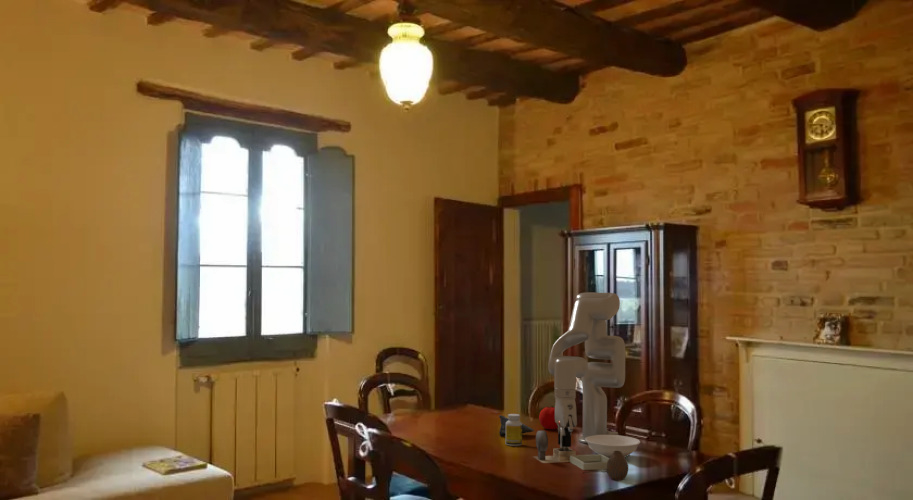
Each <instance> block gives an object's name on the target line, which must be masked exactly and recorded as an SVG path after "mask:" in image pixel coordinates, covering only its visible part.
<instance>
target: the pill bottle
mask: <svg viewBox="0 0 913 500" xmlns="http://www.w3.org/2000/svg"><path fill="white" fill-rule="evenodd" d="M507 418H508V419H509V420H508V421H507V422H506V435H505V440H504V441H505V443H504V444H505V445H506V446H509V447H519V446H522V444H523V434H522V424H523V422H522V421H521V420H520V418H521V415H520V414H518V413H508V414H507Z"/></svg>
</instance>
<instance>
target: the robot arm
mask: <svg viewBox="0 0 913 500" xmlns="http://www.w3.org/2000/svg"><path fill="white" fill-rule="evenodd" d="M620 304H621V300H620V298H619V296H618V294H617V293H615V292H594V291H593V292H581V293H578V294H577V295H576V297H575V302H574V304H573V308H572V312H571V317H570V321H569V325H568V328H567V329H568V330H567V331H566V332H565V333H562V335H561V336H560V337H558V339H557V340H555V342H554V344H553V345H552V347H551V351H550V354H549V358H548V365H547V366H548V367H547V369H548V372H549V373H550V374H551V375H552V376H554V380H553V381H554V386H553V387H554V389H553V390H554V399H555V402H554V406H555V422H556V423H557V425H558V421H560V425H561V426H563V435H562V447H569V448H571V447H572V432H573V431H574V427H575V428H576V427H577V425H578V420H577V405H576V399H577V398H576V396H577V395H576V393H577V392H576V390H577V389H576V386H577V385H576V384H577V381H576V380H577V379H579V378H580V379H581V384H582V385H581V386H582V436H579V437H578V442H580V443H583V444H586V445H587V444H588V443H587V441H586V440H585V438H586V437H588V436H593V435H619V432H618V431H613V432H612V431H609V430H608V426H607V422H608V421H607V420H608V413H607V412H608V398H607V394H606V393H605V391H604V390H603V388H614V389H615V388H618V389H619V388H622V387H623V386H624V384H625V381H626V344H625V341H624V338H623V337H621V336H618V335H607V321H608V320H611V319H612V318H613V317H615V316H616V314H617V313H618V312H619V310H620V306H621V305H620ZM581 343H584V352H585V355H586V357H588V358H590V359H594V360H595V359H597V360H607V361H609V360H611V363H610V362H600V361H598V362H597V361H589V362H588V361H587V360H586V359H585V358H584V357H582V356H581V357H580V356H572V355H562V354H563V352H564V351H566V350H567V349H569V348H571V347H574V346H576V345H579V344H581ZM560 425H558V426H557V427H558V429H557V435H558V436H557V444H558V445H559V446H560ZM567 425H568V426H567ZM566 428H568V429H566Z"/></svg>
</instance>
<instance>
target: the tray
mask: <svg viewBox="0 0 913 500" xmlns="http://www.w3.org/2000/svg"><path fill="white" fill-rule="evenodd" d="M609 458H610V457H606V456H604V455H602V454H579V455H578V454H576V455H573V456H570V462H569V463H571V464H572V465H575V466H576V467H578V468H579V469H581V470H582V471H584V472H582V473H583V474H586V473H587V474H591V473H590V472H591V470H592V471H593V470H595V471H596V470H603V471H602V473H607V462H608V460H609ZM604 470H605V471H604ZM585 471H586V472H585ZM587 471H588V472H587Z"/></svg>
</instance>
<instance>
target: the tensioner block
mask: <svg viewBox="0 0 913 500" xmlns="http://www.w3.org/2000/svg"><path fill="white" fill-rule="evenodd" d="M535 444H536V448H537V455H535V456H532V457H533V458H534V459H536V460H537V461H539V462H540V463H542V464H552V463H571V462H570V456H573V455H577V454H576V450H573V449H572V448H571V447H569V451H562V452H561V451H560V447H559V448H558V447H557V448H553V451H552V452H553V454H552V455H546V451H547V450H548V447H549V437H548V433H547V432H546V430H537V431H536V434H535Z"/></svg>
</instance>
